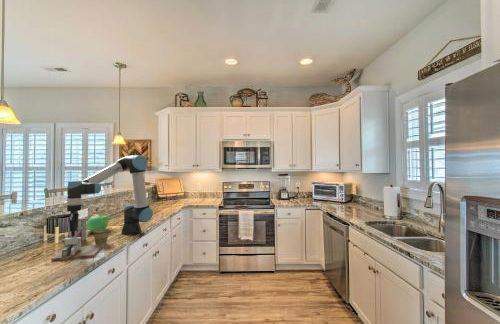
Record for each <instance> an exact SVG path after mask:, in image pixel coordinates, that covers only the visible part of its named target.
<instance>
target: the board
mask: <svg viewBox="0 0 500 324" xmlns="http://www.w3.org/2000/svg"><path fill="white" fill-rule="evenodd" d="M73 245H74V244H71V245H67V246H66V247H65V248H64V247H63V248H62V249H61V250H60V251H59V252H57V254H55V255H54V256H53V257H52V258H50V259H51V260H50V261H51V262H57V261H58V262H59V261H70V260H78V259H79V260H81V259H82V260H83V259H91V258H92V257H93V258H95V257H96V256H97V254H98V253H99V252H100V250H101V249H102V247H103V246H102V245H96V244H95V245H86V246H81V249H80V250H79V251H78V250H77V252H76V254H75V255H73V256H71V249H72V247H73Z"/></svg>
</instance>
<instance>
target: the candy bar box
mask: <svg viewBox="0 0 500 324" xmlns="http://www.w3.org/2000/svg"><path fill="white" fill-rule="evenodd" d="M67 220H68V222H67V238H71V232H69V231H70V228H69V218H67ZM77 229H78V230H76V237H81V242H83V241H86V240H87V218H86V217H79V218H78V228H77Z"/></svg>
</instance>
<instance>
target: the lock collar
mask: <svg viewBox="0 0 500 324" xmlns="http://www.w3.org/2000/svg"><path fill="white" fill-rule="evenodd" d="M71 244H78V251H79V250H80V249H81V247H82V241H81V237H76V238H68V237H65V238H63V248H65V247H66V246H68V245H71Z"/></svg>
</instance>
